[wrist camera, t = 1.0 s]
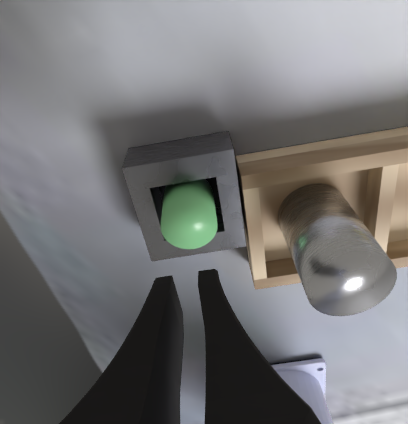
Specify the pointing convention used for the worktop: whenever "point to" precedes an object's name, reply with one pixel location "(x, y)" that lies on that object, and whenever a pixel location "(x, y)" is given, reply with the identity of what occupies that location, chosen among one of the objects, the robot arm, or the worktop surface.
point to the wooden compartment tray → (332, 175)
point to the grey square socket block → (178, 173)
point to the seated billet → (334, 252)
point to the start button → (189, 214)
